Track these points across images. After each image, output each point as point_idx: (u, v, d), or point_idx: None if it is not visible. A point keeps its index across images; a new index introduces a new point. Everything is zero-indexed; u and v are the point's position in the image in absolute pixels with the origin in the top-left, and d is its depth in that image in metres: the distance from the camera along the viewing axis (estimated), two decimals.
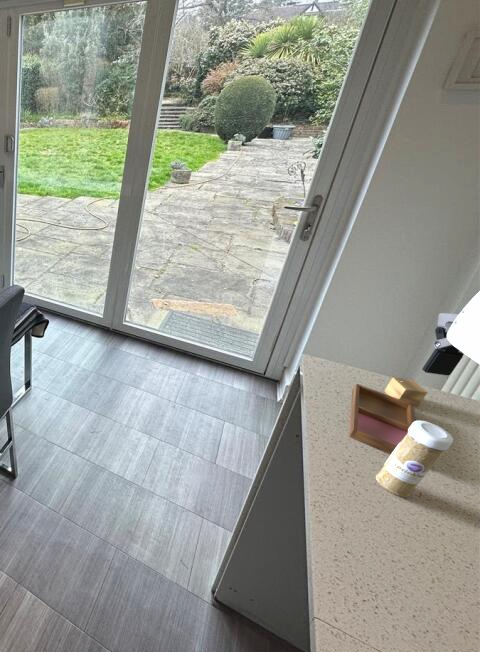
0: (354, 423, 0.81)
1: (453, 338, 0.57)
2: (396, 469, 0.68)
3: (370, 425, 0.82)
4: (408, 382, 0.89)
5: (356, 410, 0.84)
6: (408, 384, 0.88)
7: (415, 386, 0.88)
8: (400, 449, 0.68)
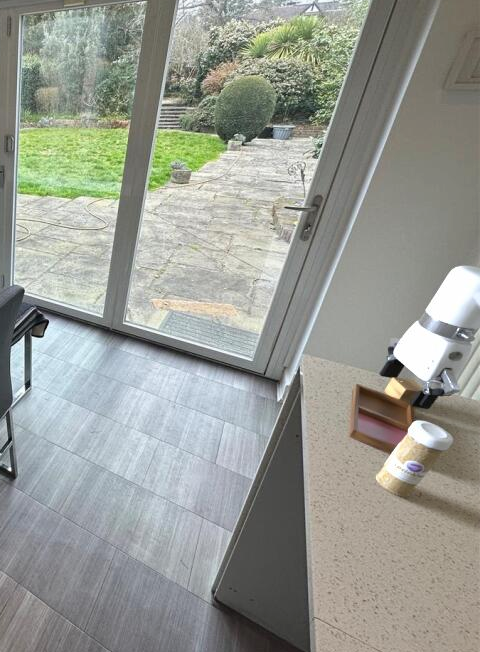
0: (354, 423, 0.81)
1: (397, 354, 0.89)
2: (396, 469, 0.68)
3: (370, 425, 0.82)
4: (408, 382, 0.89)
5: (356, 410, 0.84)
6: (408, 384, 0.88)
7: (415, 386, 0.88)
8: (400, 449, 0.68)
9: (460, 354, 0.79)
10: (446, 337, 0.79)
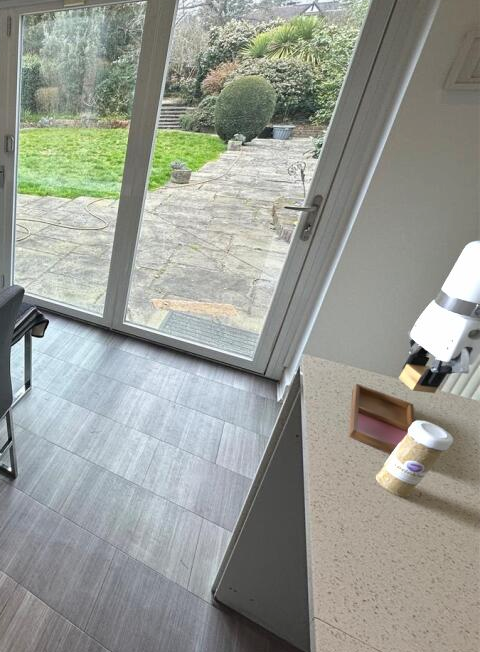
0: (354, 423, 0.81)
1: (414, 336, 0.87)
2: (396, 469, 0.68)
3: (370, 425, 0.82)
4: (423, 368, 0.87)
5: (356, 410, 0.84)
6: (423, 370, 0.86)
7: None
8: (400, 449, 0.68)
9: None
10: (464, 315, 0.77)
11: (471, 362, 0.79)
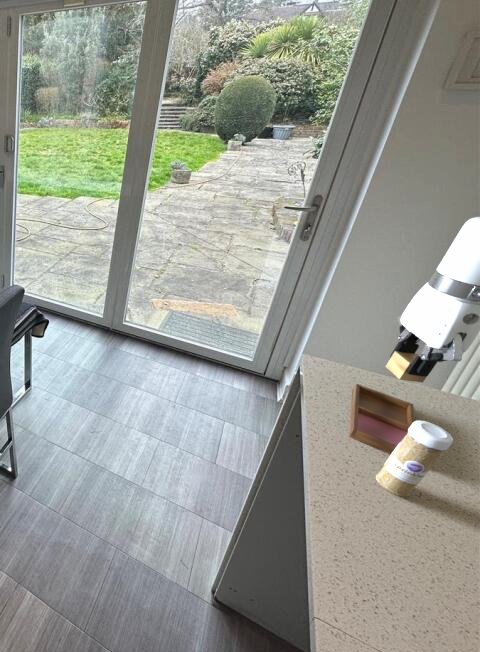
0: (354, 423, 0.81)
1: (404, 321, 0.80)
2: (396, 469, 0.68)
3: (370, 425, 0.82)
4: (412, 356, 0.81)
5: (356, 410, 0.84)
6: (412, 358, 0.80)
7: None
8: (400, 449, 0.68)
9: (476, 317, 0.70)
10: (460, 297, 0.71)
11: (464, 349, 0.72)
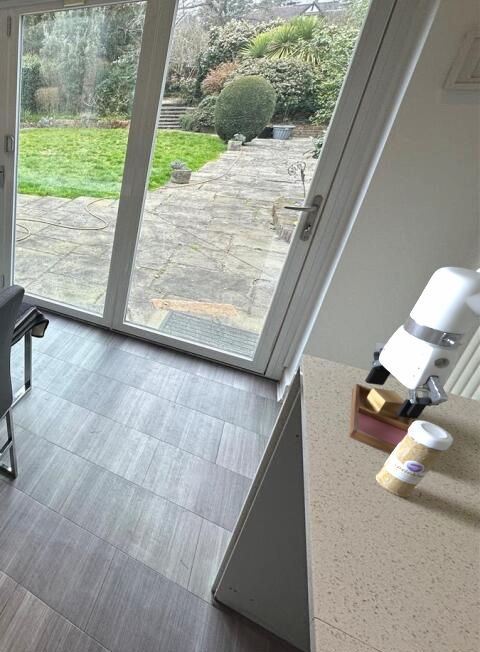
0: (354, 423, 0.81)
1: (382, 360, 0.85)
2: (396, 469, 0.68)
3: (370, 425, 0.82)
4: (388, 393, 0.85)
5: (356, 410, 0.84)
6: (388, 395, 0.84)
7: (396, 398, 0.84)
8: (400, 449, 0.68)
9: (447, 361, 0.75)
10: (431, 343, 0.75)
11: None
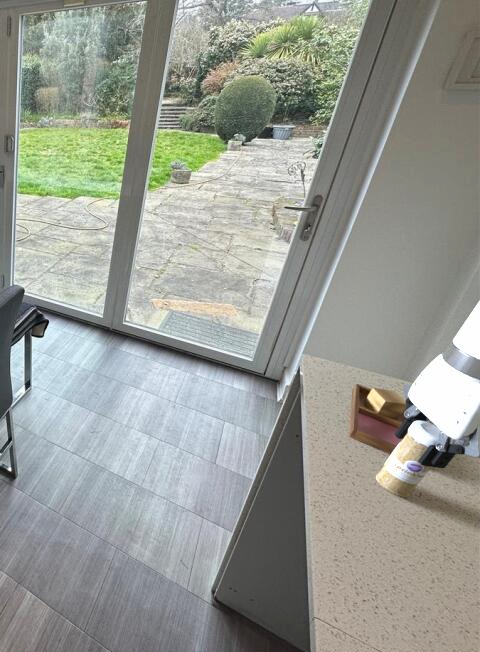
0: (354, 423, 0.81)
1: (413, 397, 0.67)
2: (396, 469, 0.68)
3: (370, 425, 0.82)
4: (388, 393, 0.85)
5: (356, 410, 0.84)
6: (388, 395, 0.84)
7: (396, 398, 0.84)
8: (400, 449, 0.68)
9: None
10: None
11: None
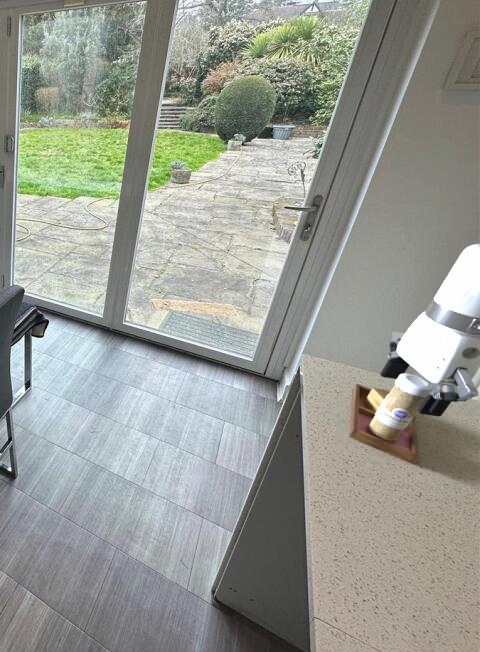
0: (354, 423, 0.81)
1: (400, 351, 0.76)
2: (385, 416, 0.78)
3: None
4: (388, 393, 0.85)
5: (356, 410, 0.84)
6: None
7: None
8: (388, 399, 0.77)
9: (476, 351, 0.66)
10: (459, 330, 0.66)
11: None
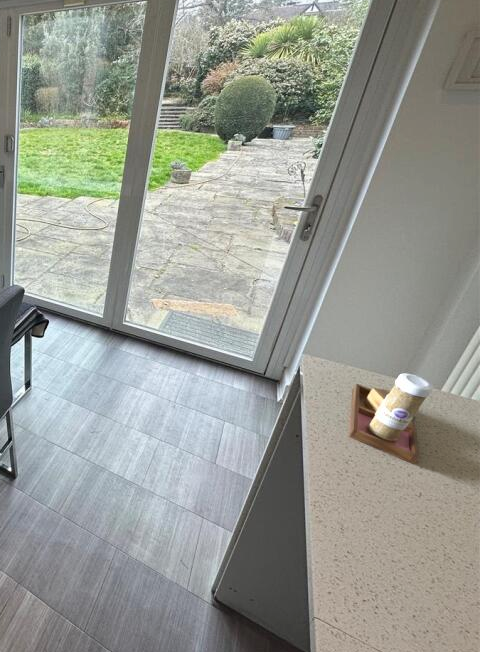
0: (354, 423, 0.81)
1: None
2: (384, 416, 0.78)
3: None
4: (388, 393, 0.85)
5: (356, 410, 0.84)
6: None
7: None
8: (388, 399, 0.77)
9: None
10: None
11: None
